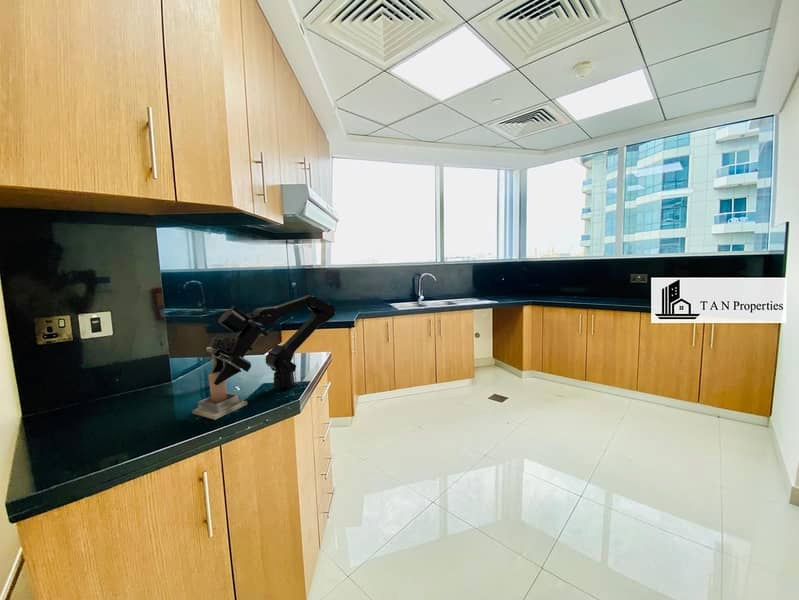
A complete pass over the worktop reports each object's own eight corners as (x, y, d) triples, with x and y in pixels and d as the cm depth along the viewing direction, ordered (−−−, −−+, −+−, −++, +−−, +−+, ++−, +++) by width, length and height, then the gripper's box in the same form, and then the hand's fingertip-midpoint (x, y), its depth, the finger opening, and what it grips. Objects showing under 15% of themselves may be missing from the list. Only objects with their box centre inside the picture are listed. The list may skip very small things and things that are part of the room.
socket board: (225, 399, 110) (224, 389, 110) (247, 404, 105) (246, 394, 105) (192, 413, 101) (191, 402, 100) (215, 419, 96) (213, 408, 95)
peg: (218, 398, 105) (215, 371, 104) (230, 398, 105) (227, 371, 104) (208, 404, 101) (204, 376, 100) (221, 404, 100) (217, 376, 99)
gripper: (214, 324, 109) (180, 364, 103) (236, 329, 97) (198, 376, 90) (241, 342, 116) (211, 381, 109) (264, 349, 103) (232, 394, 96)
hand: (212, 382), depth 101 cm, fingers closed on peg, 4 cm apart
